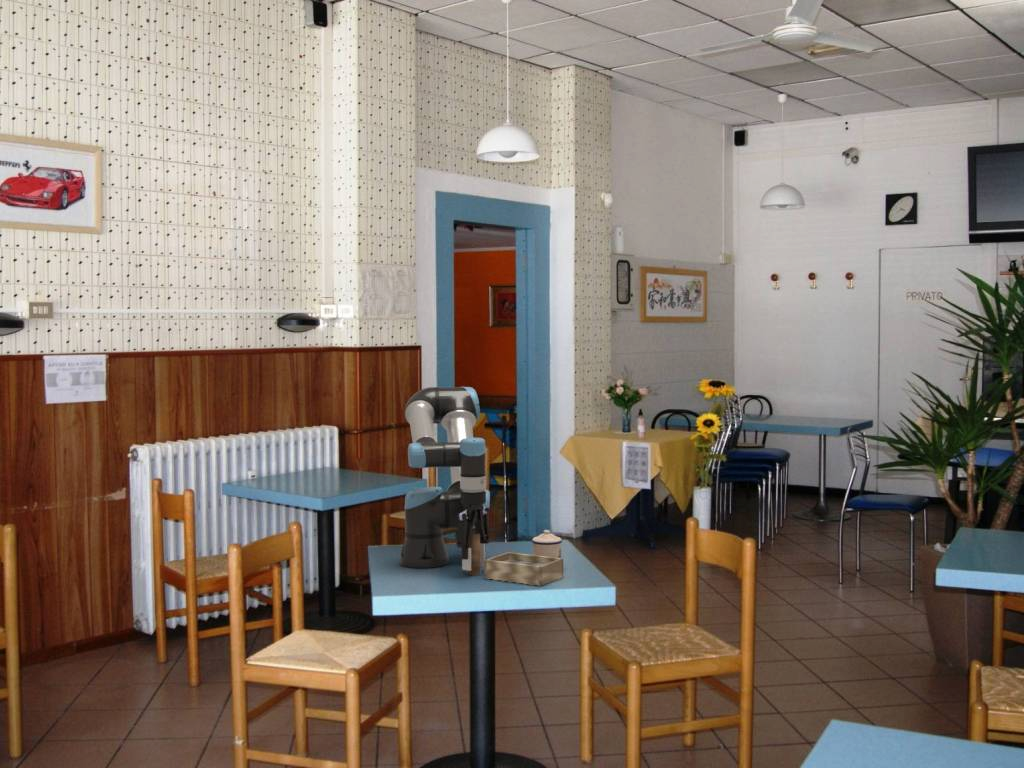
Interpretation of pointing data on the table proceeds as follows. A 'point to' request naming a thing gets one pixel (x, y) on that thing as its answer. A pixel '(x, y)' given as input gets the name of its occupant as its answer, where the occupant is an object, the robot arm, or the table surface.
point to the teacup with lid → (547, 545)
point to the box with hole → (523, 568)
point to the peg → (475, 554)
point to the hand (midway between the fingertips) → (473, 567)
